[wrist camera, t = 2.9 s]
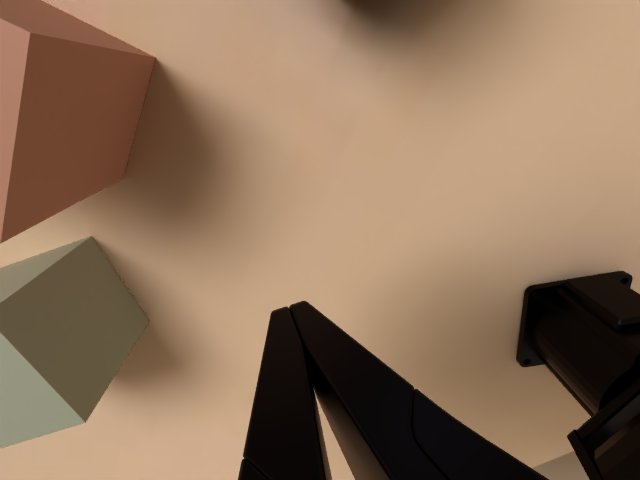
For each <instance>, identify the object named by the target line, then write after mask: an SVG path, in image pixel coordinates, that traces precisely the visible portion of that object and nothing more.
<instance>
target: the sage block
mask: <svg viewBox="0 0 640 480" xmlns="http://www.w3.org/2000/svg"><path fill="white" fill-rule="evenodd" d="M148 322H149V319H148V317H147V316H146V314H145V313H144V311H143V310H142V309H141V307H140V306H139V304H138V303H137V301H136V300H135V298H134V297H133V295H132V294H131V293H130V291H129V290H128V288H127V287H126V285H125V284H124V282H123V281H122V280H121V278H120V277H119V275H118V274H117V272H116V271H115V269H114V268H113V266H112V265H111V264H110V262H109V261H108V259H107V258H106V256H105V255H104V253H103V252H102V250H101V249H100V248H99V246H98V245H97V243H96V242H95V240H94V239H93V237H92V236H90V237H87V238H85V239H82V240H79V241H76V242H73V243H70V244H67V245H65V246H62V247H59V248H56V249H53V250H50V251H48V252H45V253H42V254H39V255H36V256H33V257H31V258H28V259H25V260H22V261H19V262H16V263H13V264H11V265H8V266H5V267H2V268H0V448H4V447H7V446H10V445H14V444H17V443H20V442H23V441H27V440H30V439H33V438H37V437H40V436H43V435H47V434H50V433H53V432H56V431H60V430H63V429H66V428H70V427H73V426H76V425H79V424H83V423H86V421H87V419H88V418H89V416H90V415H91V413H92V412H93V410H94V408H95V407H96V405H97V404H98V402H99V400H100V399H101V397H102V396H103V394H104V392H105V391H106V389H107V388H108V386H109V384H110V383H111V381H112V380H113V378H114V376H115V375H116V373H117V372H118V370H119V368H120V367H121V365H122V364H123V362H124V360H125V359H126V357H127V356H128V354H129V352H130V351H131V349H132V348H133V346H134V344H135V343H136V341H137V340H138V338H139V336H140V335H141V333H142V332H143V330H144V328H145V327H146V325H147V324H148Z"/></svg>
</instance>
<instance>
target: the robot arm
mask: <svg viewBox="0 0 640 480" xmlns="http://www.w3.org/2000/svg"><path fill="white" fill-rule="evenodd" d="M631 283H632V276H631V275H630V274H628V273H626V272H624V271H618V272H612V273H606V274H599V275H593V276H586V277H580V278H574V279H568V280H562V281H556V282H550V283H544V284H538V285H532V286H530V287H528V288H527V289H526V290H525V293H524V301H523V309H522V317H521V325H520V333H519V341H518V349H517V357H516V360H517V362H518V363H519V364H520V365H521V366H522V367H530V366H536V365H542V364H545V365H546V366H547V367H548V369H549V370H550V371H551V372H552V373H553V374H554V375H555V376H556V378H557V379H558V380H559V381H560V382H561V383H562V384H563V385H564V387H565V388H566V389H567V390H568V391H569V392H570V393H571V394H572V396H573V397H574V398H575V399H576V400H577V401H578V402H579V403H580V405H581V406H582V407H583V408H584V409H585V410H586V411H587V412H588V414H589V415H590V416H591V418H590V419H589V420H588V421H586V422H585V423H584V424H583V425H582V426H581V427H580V428H579V429H577V430H573V431H572V432H571V433H570V434H569V435H567V438H568V440H569V441H570V443H571V445H572V447H573V449H574V451H575V453H576V455H577V457H578V459H579V461H580V462H581V464H582V466H583V468H584V470H585V472H586V474H587V475H588V477H589V479H590V480H640V294H638V293H637V292H635V291H633V290H632V289H630V286H631ZM535 292H536V293H535ZM534 293H535V294H534ZM533 294H534V295H533ZM313 388H314V389H313ZM314 391H315V393H314ZM315 394H316V396H317V399H318V401H319V403H320V405H321V408H322V410H323V412H324V414H325V416H326V418H327V420H328V422H329V425H330V427H331V429H332V431H333V433H334V435H335V437H336V439H337V442H338V444H339V446H340V448H341V450H342V452H343V454H344V457H345V459H346V461H347V463H348V465H349V467H350V469H351V471H352V474H353V476H354V478H355V480H549V479H547V478H546V477H544V476H543V475H541V474H539V473H538V472H536V471H535V470H533V469H532V468H530V467H529V466H527V465H525V464H524V463H522V462H521V461H519V460H518V459H516V458H514V457H513V456H511V455H510V454H508V453H507V452H505V451H504V450H502V449H500V448H499V447H497V446H496V445H494V444H493V443H491V442H490V441H488V440H486V439H485V438H483V437H482V436H480V435H479V434H477V433H476V432H474V431H473V430H472V429H470V428H469V427H467V426H466V425H464V424H463V423H461V422H460V421H458V420H457V419H455V418H454V417H453V416H451V415H450V414H449V413H447V412H446V411H445V410H443V409H442V408H441V407H439V406H438V405H437V404H435V403H434V402H433V401H431V400H430V399H429V398H428V397H426V396H425V395H424V394H423V393H421V392H420V391H419V390H418V389H414V387H413V386H412V385H411V384H410V383H409V382H407V381H406V380H405V379H403V378H402V377H401V376H400V375H398V374H397V373H396V372H395V371H393V370H392V369H391V368H390V367H388V366H387V365H386V364H385V363H383V362H382V361H381V360H380V359H378V358H377V357H376V356H375V355H373V354H372V353H371V352H370V351H368V350H367V349H366V348H365V347H363V346H362V345H361V344H359V343H358V342H357V341H356V340H354V339H353V338H352V337H351V336H349V335H348V334H347V333H346V332H344V331H343V330H342V329H341V328H339V327H338V326H337V325H336V324H334V323H333V322H332V321H331V320H329V319H328V318H327V317H326V316H324V315H323V314H322V313H321V312H319V311H318V310H317V309H315V308H314V307H313V306H312V305H310V304H309V303H308V302H306V301H301V302H298V303H295V304H292V305H290V307H289V308H288V307H283V308H280V309H277V310H274V311H272V313H271V316H270V321H269V326H268V331H267V336H266V341H265V346H264V351H263V356H262V361H261V367H260V372H259V377H258V382H257V387H256V392H255V397H254V402H253V407H252V412H251V417H250V422H249V427H248V432H247V437H246V442H245V448H244V453H243V457H244V459H243V460H242V462H241V467H240V472H239V477H238V480H332V477H331V472H330V467H329V462H328V457H327V451H326V446H325V441H324V436H323V431H322V426H321V421H320V416H319V411H318V406H317V401H316V397H315Z"/></svg>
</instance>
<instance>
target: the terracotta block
mask: <svg viewBox="0 0 640 480" xmlns="http://www.w3.org/2000/svg"><path fill="white" fill-rule="evenodd" d="M155 59H156V58H155V57H153V56H151V55H149V54H147V53H145V52H143V51H141V50H139V49H137V48H135V47H133V46H131V45H129V44H127V43H125V42H123V41H121V40H119V39H117V38H115V37H113V36H111V35H109V34H107V33H105V32H103V31H101V30H99V29H97V28H95V27H93V26H91V25H89V24H87V23H85V22H83V21H81V20H79V19H77V18H75V17H73V16H71V15H69V14H67V13H65V12H63V11H61V10H59V9H57V8H55V7H53V6H51V5H49V4H47V3H45V2H43V1H41V0H0V243H2V242H4V241H6V240H8V239H10V238H12V237H14V236H15V235H17V234H19V233H21V232H23V231H25V230H27V229H29V228H30V227H32V226H34V225H36V224H38V223H40V222H42V221H44V220H45V219H47V218H49V217H51V216H53V215H55V214H57V213H59V212H60V211H62V210H64V209H66V208H68V207H70V206H72V205H74V204H75V203H77V202H79V201H81V200H83V199H85V198H87V197H89V196H90V195H92V194H94V193H96V192H98V191H100V190H102V189H104V188H105V187H107V186H109V185H111V184H113V183H115V182H117V181H118V180H120V179H122V178H123V177H124V173H125V170H126V166H127V162H128V159H129V155H130V151H131V147H132V144H133V140H134V136H135V133H136V129H137V125H138V122H139V118H140V114H141V110H142V107H143V103H144V99H145V96H146V92H147V88H148V85H149V81H150V77H151V73H152V70H153V66H154V62H155Z"/></svg>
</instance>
